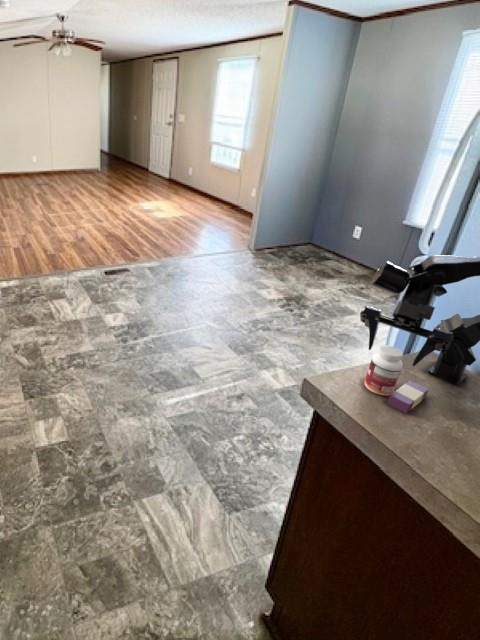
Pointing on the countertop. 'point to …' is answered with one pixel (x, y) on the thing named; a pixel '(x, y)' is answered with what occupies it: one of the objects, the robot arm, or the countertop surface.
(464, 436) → the countertop surface
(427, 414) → the countertop surface
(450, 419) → the countertop surface
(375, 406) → the countertop surface
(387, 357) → the pill bottle
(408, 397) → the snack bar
